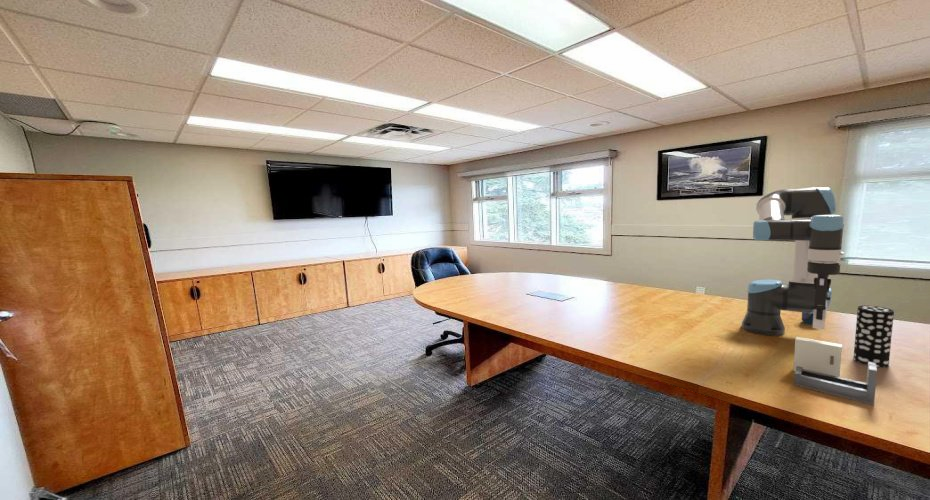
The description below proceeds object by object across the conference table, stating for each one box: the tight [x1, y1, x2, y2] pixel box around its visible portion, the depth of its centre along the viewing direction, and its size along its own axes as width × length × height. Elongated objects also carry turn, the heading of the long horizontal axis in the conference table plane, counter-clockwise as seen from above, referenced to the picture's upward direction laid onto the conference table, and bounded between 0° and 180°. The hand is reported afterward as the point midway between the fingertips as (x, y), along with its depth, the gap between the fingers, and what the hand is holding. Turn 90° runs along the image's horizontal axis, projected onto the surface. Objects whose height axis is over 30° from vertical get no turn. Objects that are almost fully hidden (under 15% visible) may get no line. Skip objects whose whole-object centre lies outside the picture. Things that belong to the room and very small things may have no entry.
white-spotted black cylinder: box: [853, 305, 895, 368], centre depth 123 cm, size 8×8×20 cm
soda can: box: [801, 312, 813, 326], centre depth 162 cm, size 7×7×12 cm
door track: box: [793, 362, 878, 406], centre depth 108 cm, size 17×7×11 cm, turn 42°
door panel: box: [793, 336, 843, 377], centre depth 117 cm, size 11×3×12 cm, turn 42°
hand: (819, 323), depth 116 cm, fingers open, 13 cm apart
